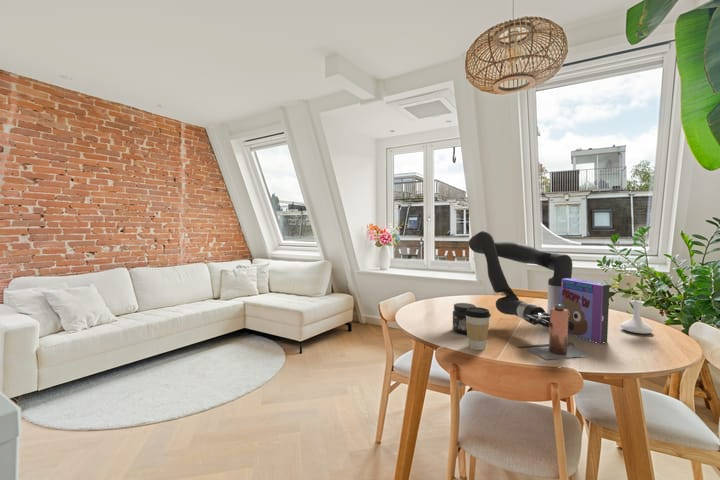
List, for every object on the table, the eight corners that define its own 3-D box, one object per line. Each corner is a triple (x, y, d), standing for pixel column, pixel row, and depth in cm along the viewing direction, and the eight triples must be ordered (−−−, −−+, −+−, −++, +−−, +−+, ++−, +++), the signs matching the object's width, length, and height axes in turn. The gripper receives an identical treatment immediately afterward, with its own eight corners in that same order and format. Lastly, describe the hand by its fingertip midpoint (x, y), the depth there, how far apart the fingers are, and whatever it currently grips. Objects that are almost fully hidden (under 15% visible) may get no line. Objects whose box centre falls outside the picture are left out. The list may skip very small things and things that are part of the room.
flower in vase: (647, 329, 159) (650, 275, 157) (656, 337, 148) (659, 279, 147) (613, 326, 164) (615, 273, 163) (619, 333, 154) (621, 277, 152)
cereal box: (560, 331, 157) (561, 278, 155) (567, 330, 159) (568, 277, 157) (599, 343, 141) (601, 285, 139) (607, 342, 143) (609, 284, 141)
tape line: (571, 343, 142) (571, 342, 142) (573, 344, 140) (573, 343, 140) (517, 346, 138) (517, 346, 138) (519, 348, 136) (519, 347, 136)
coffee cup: (489, 344, 140) (490, 307, 140) (490, 353, 131) (491, 314, 130) (464, 341, 144) (465, 305, 143) (463, 350, 134) (463, 311, 134)
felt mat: (569, 346, 137) (569, 346, 137) (589, 356, 128) (589, 355, 128) (527, 349, 134) (527, 348, 134) (545, 360, 125) (545, 359, 125)
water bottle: (559, 348, 135) (560, 302, 134) (570, 354, 129) (572, 306, 128) (545, 349, 134) (546, 303, 133) (556, 355, 128) (557, 307, 127)
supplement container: (457, 326, 164) (457, 301, 163) (479, 330, 158) (480, 304, 157) (448, 332, 156) (449, 306, 155) (472, 337, 150) (472, 309, 149)
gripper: (515, 304, 146) (542, 315, 130) (545, 303, 148) (575, 313, 132) (515, 322, 146) (541, 335, 130) (545, 320, 148) (575, 332, 132)
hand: (558, 324), depth 131 cm, fingers open, 8 cm apart
